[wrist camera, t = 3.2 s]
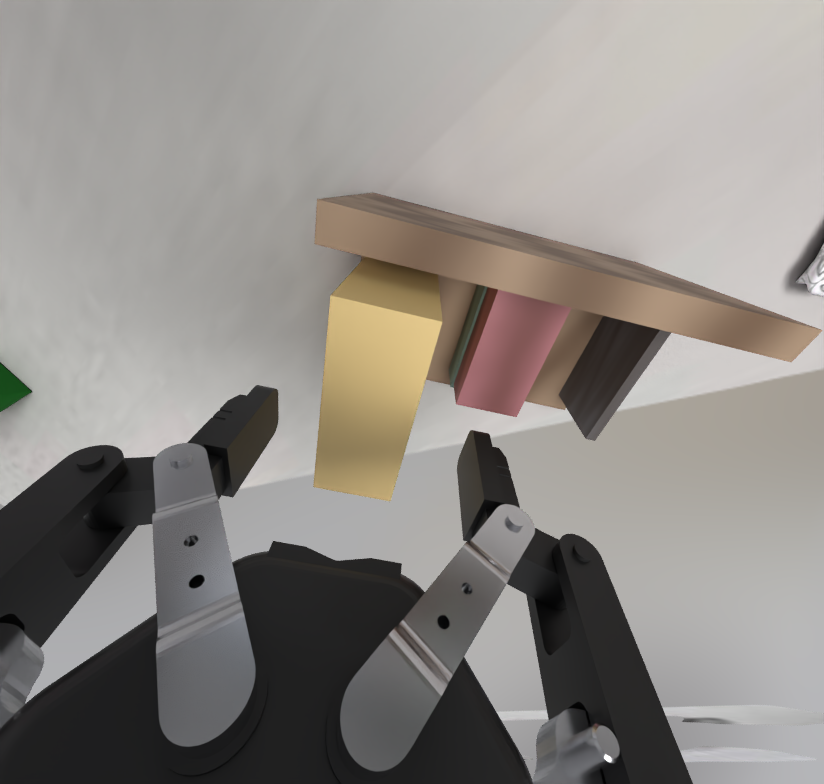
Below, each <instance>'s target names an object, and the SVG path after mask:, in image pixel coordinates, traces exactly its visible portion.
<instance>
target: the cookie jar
mask: <svg viewBox="0 0 824 784" xmlns="http://www.w3.org/2000/svg"><path fill="white" fill-rule="evenodd" d="M795 283H800V284H802V283H804V284H807V287H808V291H809V292H810V293H811V294H812V295H819V296H823V297H824V244H823V245H822V247H821V249H820V251H819V253H818V255H817V256H816V258H815V260H814V261H813V262H812V263H811V265H810V266H809V267H808V268H807V269H806V271H805V272H804V273H803V274H802V275H801V277H800V278H799V279H798V280H797V281H796V282H795Z"/></svg>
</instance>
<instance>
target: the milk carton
mask: <svg viewBox="0 0 824 784" xmlns="http://www.w3.org/2000/svg"><path fill="white" fill-rule="evenodd" d="M31 392H32V391H31V390H30V389H28V388H27V387H26V386H25V385H24V384H23V383H22V382H21V381H20V380H18V379H17V378H16V377H15V376H14V375H13V374H12V373H11V372H10V371H9V370H7V369H6V368H5V367H4V366H3V365H2V364H1V363H0V412H1V411H3V410H5V409H6V408H8V407H9V406H11V405H12V404H14V403H15V402H17V401H18V400H20V399H21V398H23V397H25V396H26V395H28V394H29V393H31Z"/></svg>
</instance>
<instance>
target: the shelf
mask: <svg viewBox="0 0 824 784" xmlns="http://www.w3.org/2000/svg"><path fill="white" fill-rule="evenodd" d="M315 244H317V245H321V246H325V247H329V248H333V249H337V250H341V251H345V252H349V253H353V254H357V255H361V256H362V257H361V261H362V260H363V259H364V258H365V257H369V258H373V259H377V260H381V261H385V262H389V263H393V264H397V265H401V266H405V267H409V268H413V269H417V270H421V271H426V272H430V273H434V274H438V282H439V292H440V302H441V312H442V321H443V322H442V325H441V329H440V332H439V336H438V339H437V343H436V346H435V350H434V353H433V356H432V360H431V363H430V367H429V370H428V374H427V377H426V380H431V381H435V382H440V383H445V384H449V385H450V387H453V388H454V391H455V399H456V404H458V405H462V406H467V407H472V408H476V409H481V410H486V411H490V412H495V413H500V414H504V415H509V416H513V417H517V415H518V413H519V411H520V409H521V407H522V405H523V403H524V401H526V402H531V403H536V404H540V405H545V406H549V407H554V408H558V409H563V410H565V408H567V409H568V411H569V413H570V414H571V416H572V417H573V419H574V421H575V422H576V424H577V425H578V427H579V429H580V430H581V432H582V434H583V435H584V437H585V438H586V439H590V440H594V441H595V440H596V438H597V437H598V436H599V434H600V433H601V431H602V430H603V428H604V427H605V426H606V424H607V423H608V421H609V420H610V418H611V417H612V416H613V414H614V413H615V411H616V410H617V409H618V407H619V406H620V404H621V403H622V402H623V400H624V399H625V397H626V396H627V395H628V393H629V392H630V390H631V389H632V387H633V386H634V385H635V383H636V382H637V380H638V379H639V378H640V376H641V375H642V373H643V372H644V371H645V369H646V368H647V366H648V365H649V363H650V362H651V361H652V359H653V358H654V356H655V355H656V354H657V352H658V351H659V349H660V348H661V347H662V345H663V344H664V342H665V341H666V339H667V338H668V337H669V335H670V334H671V333H675V334H679V335H684V336H688V337H692V338H696V339H700V340H704V341H708V342H712V343H716V344H720V345H724V346H728V347H732V348H736V349H740V350H744V351H748V352H752V353H756V354H760V355H764V356H768V357H772V358H776V359H780V360H784V361H788V362H792V361H793V360H794V359H795V358H796V357H797V356H798V355H799V354H800V353H801V352H802V351H803V350H804V349H805V348H806V347H807V346H808V345H809V344H810V343H811V342H812V341H813V340H814V339H815V338H816V337H817V336H818V335H819V333H820V332H821V331H822V330H820V329H817V328H815V327H812V326H809V325H806V324H804V323H801V322H798V321H796V320H793V319H790V318H787V317H785V316H782V315H779V314H776V313H774V312H771V311H768V310H766V309H763V308H760V307H757V306H755V305H752V304H749V303H746V302H744V301H741V300H738V299H735V298H733V297H730V296H727V295H725V294H722V293H719V292H716V291H714V290H711V289H708V288H705V287H703V286H700V285H697V284H694V283H692V282H689V281H686V280H684V279H681V278H678V277H675V276H673V275H670V274H667V273H664V272H662V271H659V270H656V269H653V268H651V267H648V266H645V265H643V264H640V263H636V262H632V261H629V260H625V259H621V258H617V257H614V256H610V255H606V254H602V253H598V252H595V251H591V250H587V249H583V248H580V247H576V246H572V245H568V244H565V243H561V242H557V241H553V240H549V239H546V238H542V237H538V236H534V235H531V234H527V233H523V232H519V231H515V230H512V229H508V228H504V227H500V226H497V225H493V224H489V223H485V222H482V221H478V220H474V219H470V218H466V217H463V216H459V215H455V214H451V213H448V212H444V211H440V210H436V209H433V208H429V207H425V206H421V205H417V204H414V203H410V202H406V201H402V200H399V199H395V198H391V197H387V196H383V195H380V194H376V193H366V194H358V195H349V196H340V197H332V198H323V199H317V212H316V229H315Z"/></svg>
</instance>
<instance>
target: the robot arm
mask: <svg viewBox="0 0 824 784" xmlns="http://www.w3.org/2000/svg"><path fill="white" fill-rule="evenodd" d="M277 425H278V390H277V389H274V388H269V387H264V386H259V385H257V386H255V387H254V388H253V389H252V390H251V392H250V393H249V394H248V395H247V396H245V395H238V396H236V397H234V398H232V399H230V400H228V401H227V402H226V403H225V404H224V405H223V406H222V407H221V408H220V411H218V412H217V413H216V414H215V415H214V416H213V418H211V419H210V420H209V421H208V422H207V423H206V424H205V425H204V426H203V427H202V428H201V429H200V430H199V431H198V432H197V433H196V434H195V435H194V436H193V437H192V439H191V440H190V441H189V442H188V443H182V444H177V445H173V446H170V447H168V448H166V449H164V450H163V451H161V452H160V453H159V454H158V455H157V456H156V457H141V458H124V456H123V453H122V451H121V450H120V449H119V448H117V447H114V446H109V445H99V446H92V447H88V448H84V449H81V450H79V451H76V452H74V453H72V454H71V455H69V456H67V457H66V458H65V459H63V460H62V461H61V462H60V463H58V464H57V465H56V466H55V467H53V468H52V469H51V470H50V471H48V472H47V473H46V474H45V475H43V476H42V477H41V478H40V479H38V480H37V481H36V482H35V483H33V484H32V485H31V486H30V487H28V488H27V489H26V490H25V491H23V492H22V493H21V494H20V495H18V496H17V497H16V498H15V499H13V500H12V501H11V502H10V503H8V504H7V505H6V506H5V507H3V508H2V509H1V510H0V784H693V783H692V780H691V778H690V775H689V773H688V770H687V768H686V765H685V763H684V760H683V758H682V755H681V753H680V750H679V748H678V746H677V743H676V741H675V738H674V736H673V733H672V731H671V728H670V726H669V723H668V721H667V718H666V716H665V713H664V711H663V708H662V706H661V703H660V701H659V698H658V696H657V693H656V691H655V689H654V686H653V684H652V681H651V679H650V676H649V674H648V671H647V669H646V666H645V664H644V661H643V659H642V656H641V654H640V652H639V649H638V647H637V644H636V642H635V639H634V637H633V634H632V632H631V629H630V627H629V624H628V622H627V619H626V617H625V614H624V612H623V609H622V607H621V604H620V602H619V599H618V597H617V595H616V592H615V589H614V587H613V585H612V582H611V580H610V577H609V575H608V572H607V570H606V567H605V565H604V562H603V560H602V558H601V556H600V554H599V552H598V551H597V550H596V548H595V547H594V546H593V545H592V544H591V543H589V542H588V541H587V540H586V539H584V538H582V537H580V536H578V535H575V534H566V535H564V536H562V537H561V539H560V540H558V539H556V538H554V537H552V536H550V535H548V534H546V533H544V532H542V531H540V530H538V529H536V528H535V526H534V523H533V521H532V520H531V518H530V517H529V515H528V514H527V513H526V512H524V511H523V510H522V509H520V507H519V503H518V499H517V496H516V492H515V488H514V485H513V481H512V478H511V474H510V471H509V466H508V463H507V459H506V457H505V456H504V454H503V453H502V452H501V450H500V449H499V448H496V447H492V443H491V439H490V435H489V434H488V433H483V432H478V431H473V430H471V431H470V432H469V434H468V436H467V439H466V441H465V444H464V447H463V449H462V451H461V454H460V457H459V460H458V465H457V474H458V485H459V497H460V507H461V520H462V531H463V540H464V541H467V542H466V543H465V544H464V546H463V547H462V548H461V549H460V550H459V552H458V553H457V554H456V556H455V557H454V558H453V559H452V560H451V561H450V563H449V564H448V565H447V566H446V568H445V569H444V570H443V571H442V572H441V574H440V575H439V576H438V577H437V579H436V580H435V581H434V582H433V584H432V585H431V586H430V587H429V588H428V590H427V591H426V592H424V591H423V590H422V589H421V588H420V587H419V586H418V585H417V584H416V583H415V582H413V581H412V580H410V579H409V578H407V577H406V576H404V575H402V574H401V565H402V564H401V563H395V562H390V561H384V560H378V559H372V558H367V559H355V560H343V561H335V560H333V559H331V558H328V557H326V556H324V555H322V554H320V553H318V552H316V551H314V550H311V549H309V548H307V547H304V546H298V545H293V544H287V543H281V542H276V541H273V543H272V545H271V547H270V550H269V551H267V552H260V553H255V554H252V555H248V556H245V557H243V558H241V559H238V560H236V561H234V562H232V560H231V556H230V551H229V546H228V542H227V538H226V533H225V529H224V525H223V519H222V515H221V510H220V506H219V501H218V500H219V498H220V497H221V495H223V496H229V497H234V495H235V494H236V492H237V491H238V489H239V487H240V486H241V484H242V483H243V481H244V480H245V478H246V477H247V475H248V474H249V472H250V470H251V469H252V467H253V466H254V464H255V463H256V461H257V460H258V458H259V457H260V455H261V453H262V452H263V450H264V449H265V447H266V446H267V444H268V443H269V441H270V440H271V438H272V436H273V435H274V433H275V431H276V428H277ZM146 524H153V543H154V564H155V583H156V604H157V613H156V614H154V615H153V616H151V617H150V618H148V619H147V620H145V621H144V622H143V623H141V624H140V625H138V626H137V627H135V628H134V629H132V630H131V631H129V632H128V633H126V634H125V635H123V636H122V637H120V638H119V639H117V640H116V641H114V642H113V643H111V644H110V645H108V646H107V647H105V648H104V649H102V650H101V651H100V652H98V653H97V654H95V655H94V656H92V657H91V658H89V659H88V660H86V661H85V662H83V663H82V664H80V665H79V666H77V667H76V668H74V669H73V670H71V671H70V672H68V673H67V674H66V675H64V676H62V677H61V678H60V679H58V680H57V681H55V682H54V683H52V684H51V685H49V686H48V687H46V688H45V689H44V690H42V691H41V692H40V693H38V694H37V695H36V696H34V697H33V698H32V699H31V700H29V701H28V702H27V703H26V704H25V702H26V699H27V696H28V695H29V693H30V691H31V689H32V686H33V685H34V683H35V681H36V680H37V678H38V677H39V675H40V673H41V670H42V668H43V664H44V654H43V652H42V650H41V649H40V648H41V647H42V645H43V644H44V643H45V642H46V640H47V639H48V638H49V637H50V635H51V634H52V633H53V631H54V630H55V629H56V628H57V626H58V625H59V624H60V623H61V621H62V620H63V619H64V618H65V616H66V615H67V614H68V613H69V611H70V610H71V609H72V608H73V606H74V605H75V604H76V603H77V601H78V600H79V599H80V598H81V596H82V595H83V594H84V593H85V591H86V590H87V589H88V588H89V586H90V585H91V584H92V582H93V581H94V580H95V579H96V577H97V576H98V575H99V574H100V572H101V571H102V570H103V569H104V567H105V566H106V565H107V564H108V562H109V561H110V560H111V558H112V557H113V556H114V555H115V553H116V552H117V551H118V550H119V548H120V547H121V546H122V545H123V543H124V542H125V541H126V539H127V538H128V537H129V536H130V534H131V533H132V532H133V531H134V530H135V528H136V527H137V526H138V525H146ZM506 584H508V585H510V586H512V587H514V588H516V589H518V590H519V591H521V592H523V593H525V594H526V595H527V601H528V606H529V611H530V617H531V623H532V629H533V634H534V639H535V645H536V651H537V657H538V662H539V668H540V674H541V679H542V684H543V690H544V696H545V702H546V707H547V713H548V718H549V721H548V722H546V723H545V724H543V725H542V727H541V728H540V730H539V732H538V735H537V741H536V753H537V763H536V770H535V774H534V777H533V779H532V778H531V776H530V773H529V771H528V768H527V766H526V764H525V761H524V759H523V757H522V755H521V754H520V752H519V750H518V748H517V747H516V745H515V743H514V742H513V740H512V738H511V736H510V735H509V733H508V731H507V730H506V728H505V726H504V724H503V723H502V721H501V719H500V718H499V716H498V714H497V713H496V711H495V709H494V707H493V706H492V704H491V702H490V701H489V699H488V697H487V695H486V694H485V692H484V690H483V689H482V687H481V685H480V683H479V682H478V680H477V679H476V677H475V675H474V673H473V671H472V670H471V668H470V666H469V665H468V663H467V661H466V659H465V658H464V655H465V654H466V652H467V650H468V649H469V647H470V645H471V643H472V642H473V640H474V638H475V637H476V635H477V633H478V632H479V630H480V628H481V626H482V625H483V623H484V621H485V620H486V618H487V616H488V615H489V613H490V611H491V609H492V607H493V606H494V604H495V603H496V601H497V599H498V598H499V596H500V594H501V592H502V591H503V589H504V587H505V586H506Z"/></svg>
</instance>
